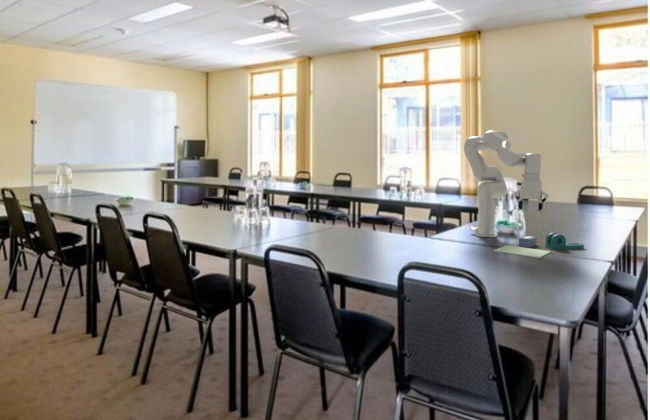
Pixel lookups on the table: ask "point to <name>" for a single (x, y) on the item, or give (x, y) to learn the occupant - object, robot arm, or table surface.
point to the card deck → (527, 241)
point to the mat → (522, 251)
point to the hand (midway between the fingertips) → (530, 209)
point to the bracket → (560, 242)
